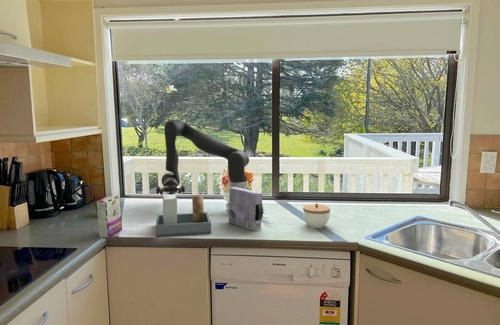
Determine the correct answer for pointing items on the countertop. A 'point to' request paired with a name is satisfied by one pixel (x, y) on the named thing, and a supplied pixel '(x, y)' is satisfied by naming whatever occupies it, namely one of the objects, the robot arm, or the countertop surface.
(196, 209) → the wooden cylinder
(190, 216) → the tote
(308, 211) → the lidded bowl
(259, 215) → the cake pan box
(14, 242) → the countertop surface
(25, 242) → the countertop surface
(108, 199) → the candy bar box
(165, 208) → the skincare box
